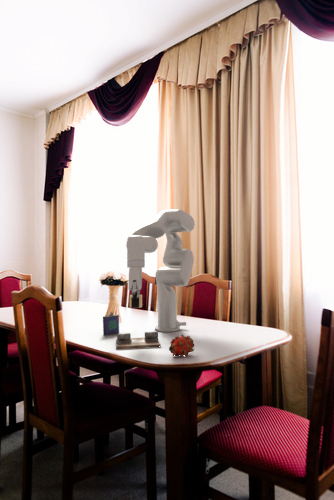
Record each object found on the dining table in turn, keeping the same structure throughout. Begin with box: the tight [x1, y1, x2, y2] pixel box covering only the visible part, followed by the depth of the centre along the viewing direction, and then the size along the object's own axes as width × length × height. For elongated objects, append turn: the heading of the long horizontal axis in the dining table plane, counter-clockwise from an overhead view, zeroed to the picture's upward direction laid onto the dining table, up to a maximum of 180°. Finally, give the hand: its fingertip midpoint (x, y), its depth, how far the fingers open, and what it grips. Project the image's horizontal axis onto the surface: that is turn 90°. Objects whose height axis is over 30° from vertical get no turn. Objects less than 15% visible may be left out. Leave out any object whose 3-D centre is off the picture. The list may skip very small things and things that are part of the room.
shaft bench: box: [115, 331, 161, 350], centre depth 160 cm, size 18×14×5 cm
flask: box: [102, 311, 120, 337], centre depth 181 cm, size 9×3×11 cm, turn 138°
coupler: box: [129, 294, 143, 309], centre depth 162 cm, size 5×4×5 cm
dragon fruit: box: [168, 334, 195, 357], centre depth 141 cm, size 8×8×12 cm
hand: (135, 306), depth 162 cm, fingers closed on coupler, 4 cm apart
